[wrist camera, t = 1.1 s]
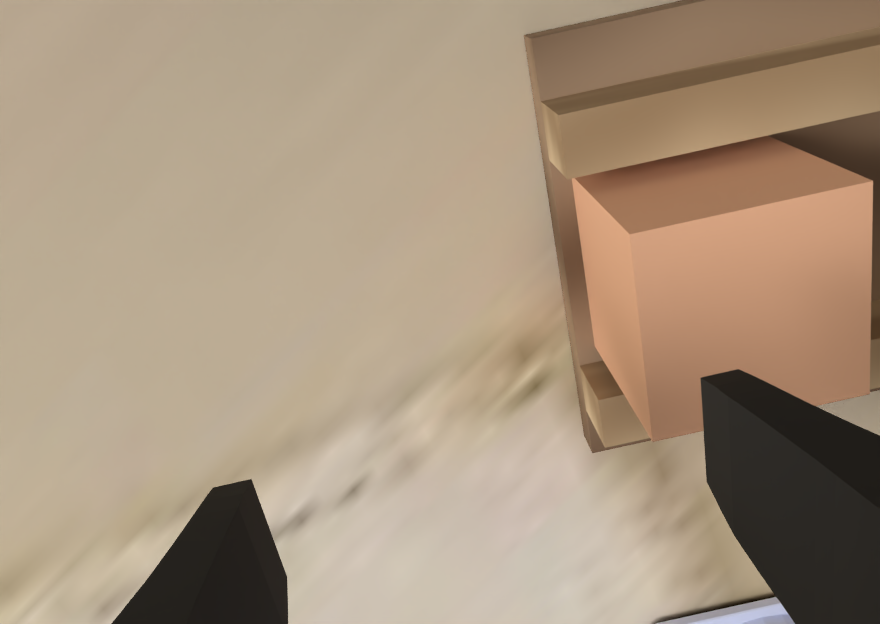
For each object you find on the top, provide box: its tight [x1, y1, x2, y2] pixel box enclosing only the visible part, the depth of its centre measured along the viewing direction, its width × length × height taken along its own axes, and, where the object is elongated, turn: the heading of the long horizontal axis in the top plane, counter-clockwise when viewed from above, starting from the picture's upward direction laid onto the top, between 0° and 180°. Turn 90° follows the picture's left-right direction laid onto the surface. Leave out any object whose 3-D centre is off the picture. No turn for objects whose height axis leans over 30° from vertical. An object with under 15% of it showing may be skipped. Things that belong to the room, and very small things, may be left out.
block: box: [572, 136, 873, 442], centre depth 20 cm, size 5×5×5 cm
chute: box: [524, 0, 880, 453], centre depth 22 cm, size 12×16×3 cm
